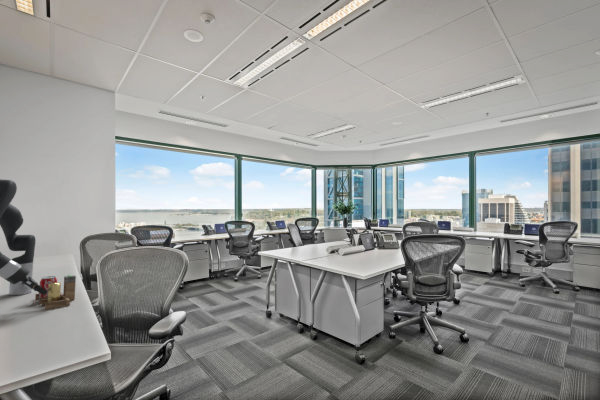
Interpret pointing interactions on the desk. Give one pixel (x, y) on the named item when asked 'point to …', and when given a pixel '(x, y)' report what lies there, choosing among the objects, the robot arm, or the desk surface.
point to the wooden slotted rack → (64, 298)
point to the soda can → (46, 284)
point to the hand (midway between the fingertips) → (43, 291)
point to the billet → (54, 292)
